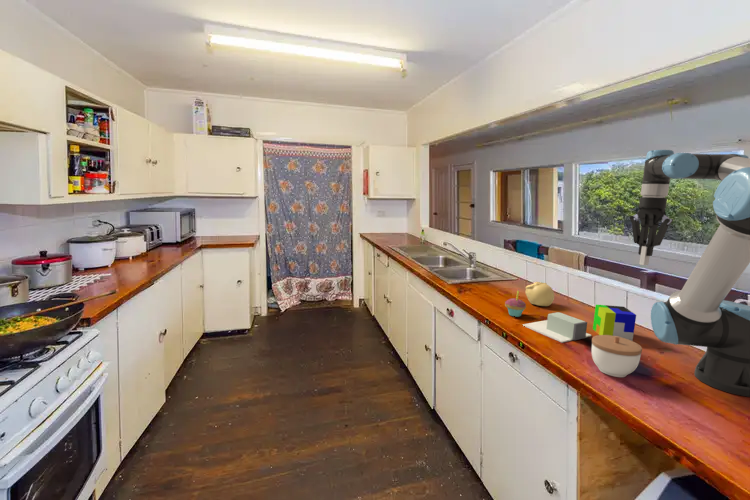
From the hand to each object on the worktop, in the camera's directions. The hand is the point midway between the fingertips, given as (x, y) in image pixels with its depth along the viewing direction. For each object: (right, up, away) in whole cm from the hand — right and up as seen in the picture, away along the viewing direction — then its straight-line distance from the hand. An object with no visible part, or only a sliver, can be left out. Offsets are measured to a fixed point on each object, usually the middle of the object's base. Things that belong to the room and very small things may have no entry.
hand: (643, 264), depth 133 cm
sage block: (-20, -24, +3) cm, 32 cm away
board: (-25, -26, +13) cm, 38 cm away
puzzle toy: (-5, -27, +10) cm, 30 cm away
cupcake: (-34, -23, +30) cm, 51 cm away
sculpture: (-17, -21, +46) cm, 54 cm away
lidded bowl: (-23, -32, -19) cm, 44 cm away
